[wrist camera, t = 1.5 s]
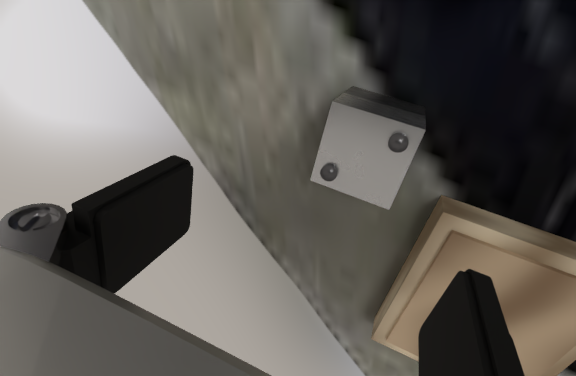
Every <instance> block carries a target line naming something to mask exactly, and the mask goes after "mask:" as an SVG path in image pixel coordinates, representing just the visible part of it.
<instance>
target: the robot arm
mask: <svg viewBox="0 0 576 376" xmlns="http://www.w3.org/2000/svg"><path fill="white" fill-rule="evenodd" d="M192 182H193V167H192V166H191V164H190V162H189V161H188V160H186V159H183V158H181V157H178V156H175V155H174V156H170V157H168V158H166V159H164V160H162V161H160V162H158V163H156V164H153V165H151V166H149V167H147V168H145V169H143V170H141V171H139V172H137V173H135V174H133V175H130V176H129V177H126V178H124V179H122V180H120V181H118V182H116V183H114V184H112V185H110V186H107V187H105V188H104V189H101V190H99V191H97V192H95V193H93V194H91V195H89V196H87V197H85V198H82V199H80V200H78V201H76V202H74V203H72V210H73V211H71V212H69V213H66V211H65V209H64V208H62V207H60V206H58V205H54V204H46V203H40V204H31V205H27V206H23V207H20V208H18V209H15V210H13V211H11V212H10V213H8V214H6V215H5V216H4V217H3V218H2V219H1V221H0V376H271V375H269V374H267V373H265V372H263V371H262V370H260V369H258V368H256V367H254V366H252V365H250V364H248V363H246V362H244V361H242V360H241V359H239V358H237V357H235V356H233V355H231V354H229V353H227V352H225V351H223V350H221V349H219V348H217V347H215V346H214V345H212V344H210V343H208V342H206V341H204V340H202V339H200V338H198V337H196V336H195V335H193V334H191V333H189V332H187V331H185V330H183V329H181V328H179V327H177V326H175V325H173V324H171V323H170V322H168V321H166V320H164V319H162V318H160V317H158V316H156V315H154V314H152V313H150V312H148V311H146V310H144V309H142V308H140V307H138V306H136V305H135V304H133V303H131V302H129V301H127V300H125V299H123V298H121V297H119V296H117V295H115V294H114V293H116V292H117V291H118V290H120V289H121V288H122V287H123V286H124V285H125V284H127V283H128V282H129V281H130V280H131V279H132V278H134V277H135V276H136V275H137V274H138V273H140V272H141V271H142V270H143V269H144V268H145V267H147V266H148V265H149V264H150V263H151V262H153V261H154V260H155V259H156V258H157V257H158V256H160V255H161V254H162V253H163V252H164V251H166V250H167V249H168V248H169V247H170V246H171V245H172V244H174V243H175V242H176V241H177V240H178V239H180V238H181V237H182V236H183V235H184V234H185V233H186V232H187V231H188V229H189V226H190V215H191V199H192V184H193V183H192ZM418 349H419V376H525V375H524V372H523V369H522V366H521V363H520V360H519V357H518V354H517V351H516V348H515V345H514V341H513V339H512V337H511V335H510V334H509V331H508V328H507V325H506V321H505V318H504V315H503V312H502V309H501V306H500V303H499V300H498V297H497V294H496V291H495V288H494V284H493V281H492V279H491V277H489V276H487V275H485V274H482V273H479V272H477V271H474V270H472V269H467V270H466V271H465V272H463V271H459V272H458V273H457V274H456V275H455V277H454V278H453V280H452V281H451V283H450V284H449V286H448V287H447V289H446V290H445V292H444V293H443V295H442V296H441V298H440V299H439V301H438V302H437V304H436V305H435V307H434V308H433V310H432V311H431V313H430V314H429V316H428V317H427V319H426V320H425V322H424V323H423V324H422V326H421V328H420V331H419V336H418Z"/></svg>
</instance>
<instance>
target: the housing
mask: <svg viewBox="0 0 576 376" xmlns="http://www.w3.org/2000/svg"><path fill="white" fill-rule="evenodd" d="M425 131H426V121H425V107H423V106H419V105H416V104H413V103H409V102H406V101H402V100H399V99H395V98H392V97H389V96H385V95H382V94H378V93H375V92H371V91H368V90H364V89H361V88H358V87H354V86H353V87H351V88H350V89H348V90H347V91H346V92H344V93H343V94H341V95H340V96H339V97H337V98H336V99H334V100H333V101H332V104H331V107H330V111H329V114H328V118H327V122H326V125H325V129H324V132H323V136H322V139H321V143H320V147H319V150H318V154H317V157H316V161H315V165H314V168H313V172H312V175H311V179H310V180H311V181H313V182H316V183H319V184H321V185H324V186H327V187H329V188H332V189H335V190H337V191H340V192H343V193H345V194H348V195H351V196H353V197H356V198H359V199H361V200H364V201H367V202H369V203H372V204H375V205H377V206H380V207H383V208H385V209H388V210H389V209H390V207H391V205H392V203H393V201H394V198H395V196H396V194H397V192H398V190H399V188H400V185H401V183H402V181H403V179H404V177H405V174H406V172H407V170H408V168H409V166H410V163H411V161H412V159H413V157H414V155H415V152H416V150H417V148H418V146H419V144H420V141H421V139H422V137H423V135H424V133H425Z"/></svg>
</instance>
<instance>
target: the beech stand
mask: <svg viewBox="0 0 576 376" xmlns="http://www.w3.org/2000/svg"><path fill="white" fill-rule="evenodd" d="M467 269H472V270H474V271H477V272H479V273H482V274H485V275H487V276H489V277H491V279H492V281H493V284H494V288H495V291H496V294H497V297H498V300H499V303H500V306H501V309H502V312H503V315H504V318H505V321H506V325H507V328H508V331H509V334H510V335H511V337H512V339H513V341H514V345H515V348H516V351H517V354H518V357H519V360H520V363H521V366H522V369H523V372H524V375H525V376H557V375H558V374H559V373H560V372H561V371H563V370H564V369H565V368H566V367H567V366H569V365H570V364H571V363H572V362H573V361H575V360H576V242H574V241H571V240H568V239H565V238H563V237H560V236H557V235H554V234H551V233H548V232H545V231H543V230H540V229H537V228H534V227H531V226H528V225H525V224H523V223H520V222H517V221H514V220H511V219H508V218H505V217H503V216H500V215H497V214H494V213H491V212H488V211H486V210H483V209H480V208H477V207H474V206H471V205H468V204H466V203H463V202H460V201H457V200H454V199H451V198H448V197H446V196H443V195H441V197H440V198H439V200H438V202H437V204H436V206H435V208H434V209H433V211H432V213H431V215H430V217H429V219H428V220H427V222H426V224H425V226H424V228H423V230H422V231H421V233H420V235H419V237H418V239H417V241H416V242H415V244H414V246H413V248H412V250H411V252H410V253H409V255H408V257H407V259H406V261H405V263H404V264H403V266H402V268H401V270H400V272H399V274H398V275H397V277H396V279H395V281H394V283H393V285H392V287H391V288H390V290H389V292H388V294H387V296H386V298H385V299H384V301H383V303H382V305H381V307H380V309H379V310H378V312H377V314H376V316H375V320H374V326H373V332H372V338H371V339H372V340H375V341H377V342H379V343H381V344H383V345H385V346H387V347H389V348H391V349H393V350H395V351H398V352H400V353H402V354H404V355H406V356H408V357H410V358H412V359H414V360H416V361H419V349H418V336H419V331H420V328H421V326H422V324H423V323H424V322H425V320H426V319H427V317H428V316H429V314H430V313H431V311H432V310H433V308H434V307H435V305H436V304H437V302H438V301H439V299H440V298H441V296H442V295H443V293H444V292H445V290H446V289H447V287H448V286H449V284H450V283H451V281H452V280H453V278H454V277H455V275H456V274H457V273H458V272H459V271H463V272H465V271H466V270H467Z"/></svg>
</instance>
